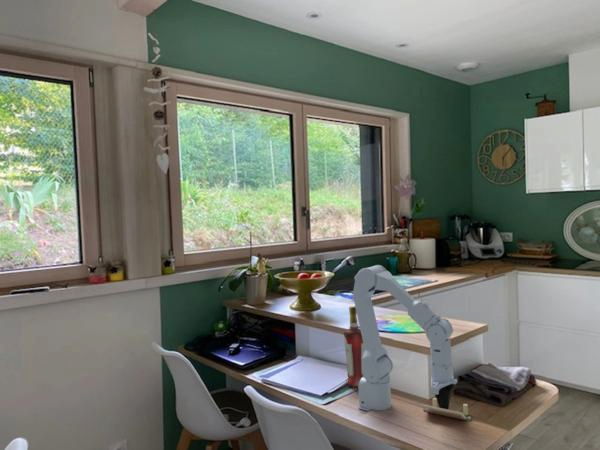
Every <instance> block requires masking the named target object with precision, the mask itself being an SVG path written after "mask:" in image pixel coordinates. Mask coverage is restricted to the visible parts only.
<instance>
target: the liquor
mask: <svg viewBox="0 0 600 450" xmlns="http://www.w3.org/2000/svg"><path fill="white" fill-rule="evenodd" d="M348 311H349V328H347V329H345V331H343V338H344V349H345V351H344V352H345V360H346V371H347V372H346V373H347V380H348V383H347V384H348V385H349V386H350V387H351V386H352V387H351V388H353V387H357V388H356V389H358V387H359V382H360V380H361V378H362V377H364V376H363V373H362V367H363V361H362V358H363V355H364V352H365V348H364V343H363V339H362V334H361V330H360V327H359V322H358V316H357V312H356V307H355V305H352V306H351V305H350V306H348Z"/></svg>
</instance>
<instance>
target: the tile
mask: <svg viewBox="0 0 600 450" xmlns="http://www.w3.org/2000/svg"><path fill="white" fill-rule="evenodd" d="M421 408H422V409H423V410H424V409H425V410H426V411H425V412H427V413H431V414H435V415H439V416H444V417H449V418H455V419H458V420H462V421H467V416H466V415H463V412H461V411H458V410H457V411H456V410H452V409H443V408H439V406H437V407H433V405H427V404H423V403H422V404H421Z"/></svg>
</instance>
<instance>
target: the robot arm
mask: <svg viewBox="0 0 600 450" xmlns="http://www.w3.org/2000/svg"><path fill="white" fill-rule="evenodd" d="M353 279H354V284H353V285H354V286H353V289H352V297H353V302H354V306H355V307H356V312H357V314H356V316H357V322H358V326H359V329H360V330H361V334H362V339H363V343H364V348H365V352H364V355H363V358H362V361H363V367H362V373H363V376H364V377H362V378H361V380H360V382H359V388H357V389H358V405H359V406H358V407H357V408H358V409H359V410H363V411H367V412H370V411H371V410H377V411H384V410H388V409H390V408H391V407H392V398H391V396H392V395H391V394H392V393H391V376H390V374H391V373H392V370H393V367H394V364H393V361H392V359H391V358H390V356H389V354H388V350H387V349H386V348H385V347H384V346H383V344H382V341H381V336H380V332H379V327H378V323H377V322H378V321H377V318H376V313H375V310H374V304H373V300H372V296H373V294H374V293H375V291H385V292H387V293H389V294H390V295H391V296H392V297H393V298H395V300H397V302H399V303H401V305H403V307H405V308H406V309H407V315H408V316H409V318H411V320H413V321H414V322H415V323H416V324H417V325H418V326H419V327H420V328H421V329H422V330H423V331H425V336H426V338H427V340H428V341H429V348H430V349H429V352H430V353H429V354H430V370H431V377H430V381H431V385H430V386H429V389H430V394H433V395H434V396H435V398H437V406H438V408H443V409H448V410H450V409H449V407H450V401H451V397H452V394H453V393H452V392H453V390H454V388H455V385H456V384H457V383H458V379H457V378H454V370H453V357H452V346H451V345H452V344H451V338H450V337H452V335H453V332H454V328H453V325H452V324H451V322H450V321H449V320H448V319H446V318H443V317H441V315H439V314H436V313H435V312H434V311H433V310H432V309H431V308H430V307H429V305H430V304H429V303H427V302H426V301H425V302H424V301H422V300H416V299H415V298H414V297H413V296H412V295H411V294H410V293H409V292H408V291H407V290H406V289H405V288H404V287H403V286H402V285H401V284H400V283H399V282H398V281H397V279H395V277H394V276H393V275H392V273H391V272H390V271H388V270H387V268H385V267H384V266H382V265H380V264H375V265H373V266H369V267H363V268H361V269H359V271H358V272H357V273H356V274H355V276H354V278H353Z"/></svg>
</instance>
